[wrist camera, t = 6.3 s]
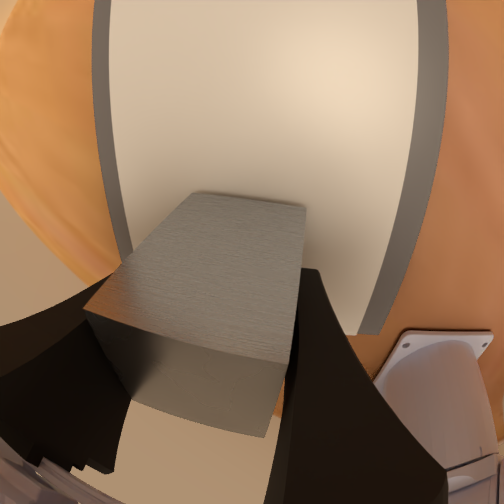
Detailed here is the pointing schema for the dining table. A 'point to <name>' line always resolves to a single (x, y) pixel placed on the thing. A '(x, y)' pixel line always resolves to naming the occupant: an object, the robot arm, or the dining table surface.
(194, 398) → the block
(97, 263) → the dining table surface
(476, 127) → the dining table surface
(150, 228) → the scale
